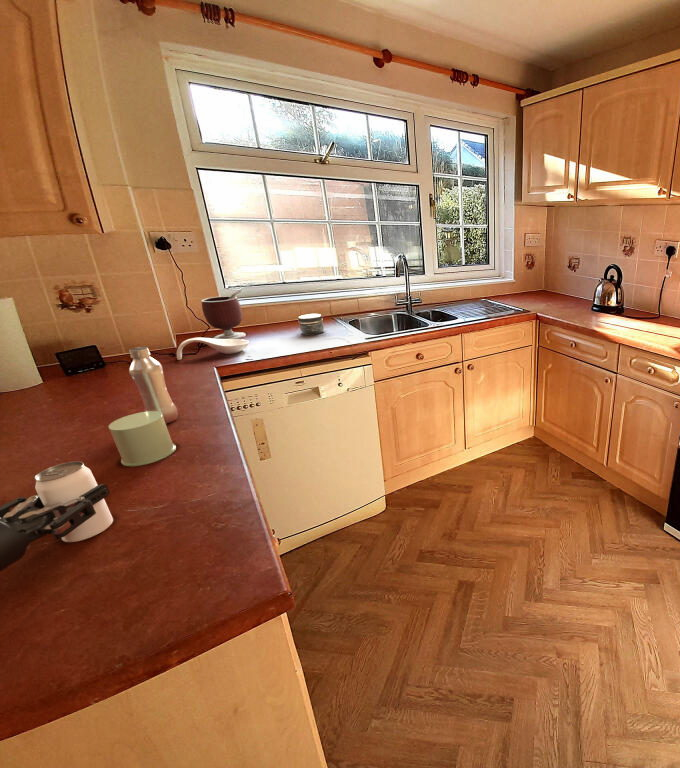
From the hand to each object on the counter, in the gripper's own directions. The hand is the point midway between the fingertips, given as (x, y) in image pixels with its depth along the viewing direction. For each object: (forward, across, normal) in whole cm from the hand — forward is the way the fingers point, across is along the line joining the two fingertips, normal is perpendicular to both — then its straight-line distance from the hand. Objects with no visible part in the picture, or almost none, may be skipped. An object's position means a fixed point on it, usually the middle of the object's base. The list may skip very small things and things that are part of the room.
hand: (87, 487), depth 72 cm
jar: (+126, +30, +7) cm, 130 cm away
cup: (+21, +11, +7) cm, 24 cm away
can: (-2, 0, +7) cm, 8 cm away
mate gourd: (+117, +63, +7) cm, 133 cm away
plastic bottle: (+37, +22, +7) cm, 43 cm away
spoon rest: (+93, +52, +7) cm, 106 cm away
